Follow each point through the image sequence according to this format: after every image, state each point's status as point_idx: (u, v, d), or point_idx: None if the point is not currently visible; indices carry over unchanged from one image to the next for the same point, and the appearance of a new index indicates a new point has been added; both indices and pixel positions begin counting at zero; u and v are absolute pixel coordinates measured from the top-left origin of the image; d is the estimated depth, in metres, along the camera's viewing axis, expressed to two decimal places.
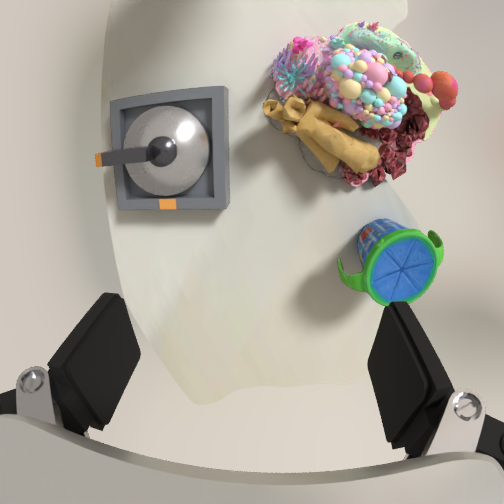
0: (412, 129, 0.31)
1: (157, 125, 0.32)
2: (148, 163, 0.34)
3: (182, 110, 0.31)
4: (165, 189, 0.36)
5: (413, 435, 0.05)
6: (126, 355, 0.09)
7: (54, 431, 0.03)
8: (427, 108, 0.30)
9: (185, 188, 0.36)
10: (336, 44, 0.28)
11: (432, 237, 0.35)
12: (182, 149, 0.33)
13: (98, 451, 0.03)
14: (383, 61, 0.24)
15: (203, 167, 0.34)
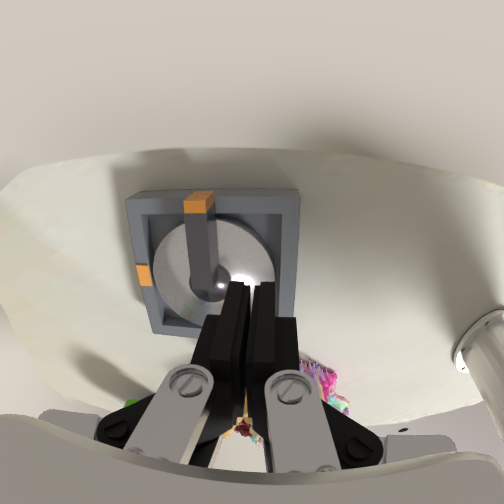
0: None
1: (247, 276, 0.26)
2: None
3: None
4: (161, 277, 0.27)
5: None
6: None
7: (54, 431, 0.03)
8: None
9: (166, 301, 0.29)
10: None
11: None
12: (213, 303, 0.28)
13: (99, 451, 0.03)
14: None
15: (193, 322, 0.29)
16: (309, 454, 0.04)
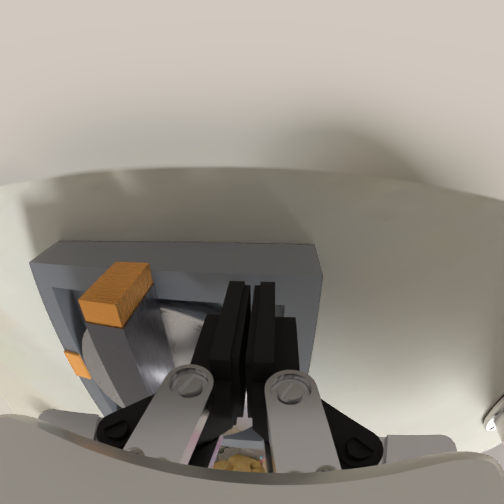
0: None
1: None
2: None
3: None
4: (98, 374, 0.15)
5: None
6: None
7: (54, 431, 0.03)
8: None
9: (113, 399, 0.17)
10: None
11: None
12: None
13: (98, 451, 0.03)
14: None
15: None
16: (309, 454, 0.04)
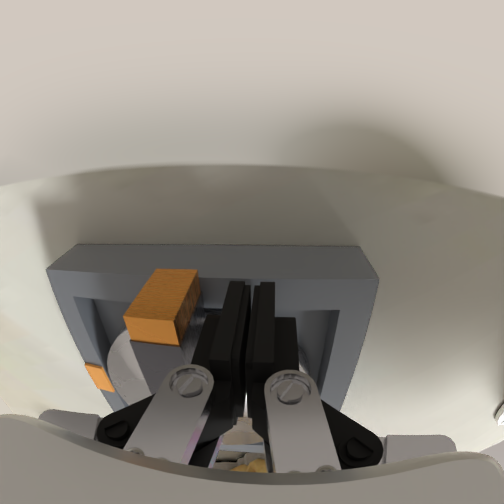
0: None
1: None
2: None
3: None
4: (124, 387, 0.15)
5: None
6: None
7: (54, 431, 0.03)
8: None
9: None
10: None
11: None
12: None
13: (99, 451, 0.03)
14: None
15: None
16: (309, 454, 0.04)
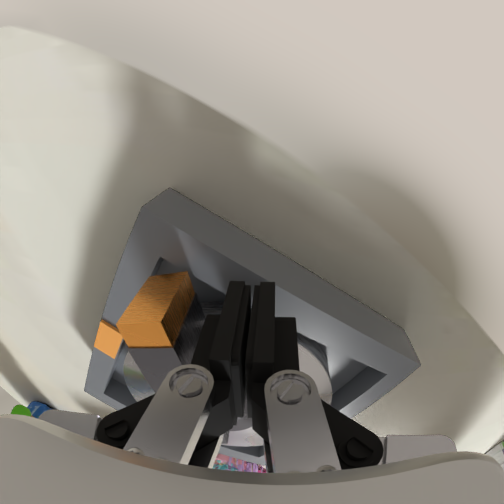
0: None
1: None
2: None
3: None
4: None
5: None
6: None
7: (54, 431, 0.03)
8: None
9: None
10: None
11: None
12: None
13: (99, 451, 0.03)
14: None
15: None
16: (309, 454, 0.04)
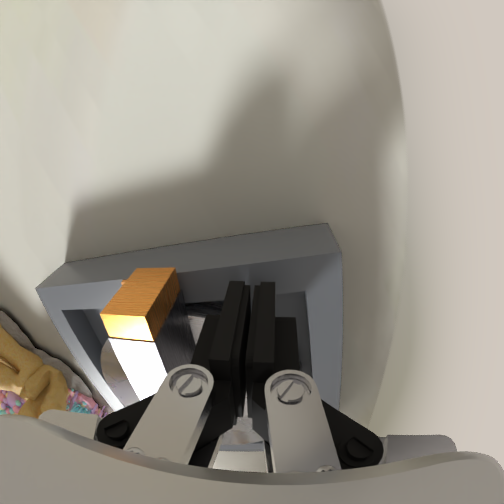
0: None
1: None
2: None
3: None
4: (119, 388, 0.15)
5: None
6: None
7: (54, 431, 0.03)
8: None
9: None
10: None
11: None
12: None
13: (99, 451, 0.03)
14: None
15: None
16: (309, 454, 0.04)
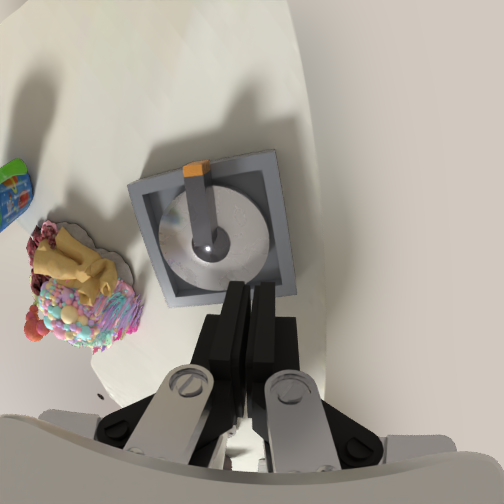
0: (37, 283, 0.37)
1: (244, 235, 0.29)
2: None
3: (262, 264, 0.31)
4: (166, 244, 0.30)
5: None
6: None
7: (54, 431, 0.03)
8: None
9: (172, 267, 0.32)
10: (107, 331, 0.40)
11: None
12: (215, 264, 0.31)
13: (98, 451, 0.03)
14: (64, 338, 0.35)
15: (198, 286, 0.32)
16: (309, 454, 0.04)
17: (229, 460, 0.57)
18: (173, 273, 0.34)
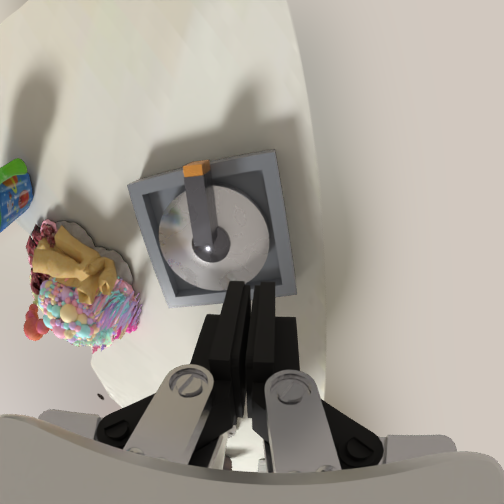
0: (36, 282, 0.37)
1: (244, 235, 0.29)
2: None
3: (262, 264, 0.31)
4: (166, 244, 0.30)
5: None
6: None
7: (54, 431, 0.03)
8: None
9: (172, 267, 0.32)
10: (106, 330, 0.40)
11: None
12: (215, 264, 0.31)
13: (99, 451, 0.03)
14: None
15: (198, 285, 0.32)
16: (309, 454, 0.04)
17: (229, 460, 0.57)
18: (173, 273, 0.34)
